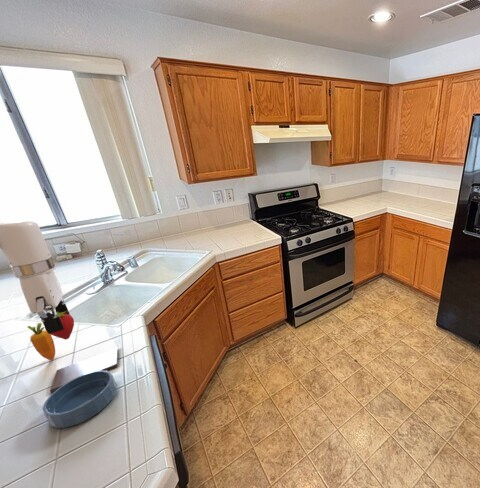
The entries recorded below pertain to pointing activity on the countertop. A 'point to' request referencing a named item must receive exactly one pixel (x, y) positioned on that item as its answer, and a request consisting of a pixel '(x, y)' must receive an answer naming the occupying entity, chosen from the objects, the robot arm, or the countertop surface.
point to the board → (85, 368)
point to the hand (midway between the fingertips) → (59, 323)
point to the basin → (80, 399)
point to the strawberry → (65, 326)
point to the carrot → (43, 342)
